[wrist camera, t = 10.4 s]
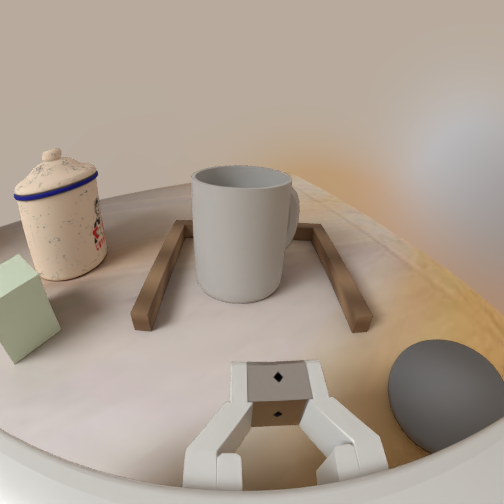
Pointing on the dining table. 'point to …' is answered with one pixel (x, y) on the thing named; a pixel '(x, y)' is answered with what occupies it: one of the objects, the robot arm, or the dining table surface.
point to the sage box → (23, 309)
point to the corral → (328, 254)
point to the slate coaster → (444, 393)
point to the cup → (242, 230)
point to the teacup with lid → (62, 217)
